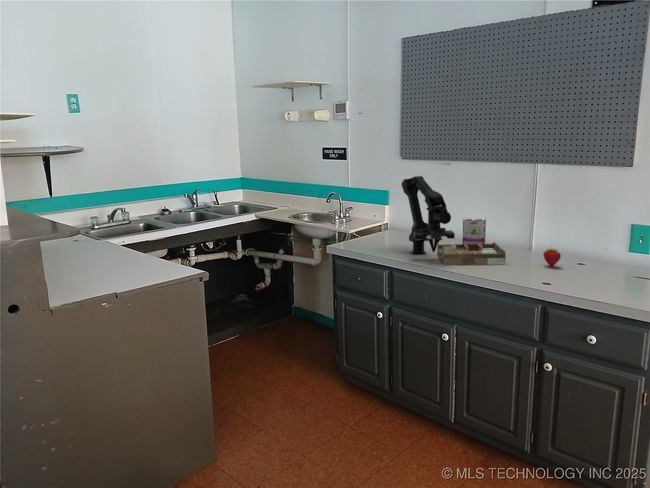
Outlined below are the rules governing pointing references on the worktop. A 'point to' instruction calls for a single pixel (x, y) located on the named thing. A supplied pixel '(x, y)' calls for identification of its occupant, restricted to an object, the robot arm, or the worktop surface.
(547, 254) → the strawberry
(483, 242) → the candy bar box
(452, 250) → the birch block
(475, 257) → the brown wooden tray
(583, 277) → the worktop surface
